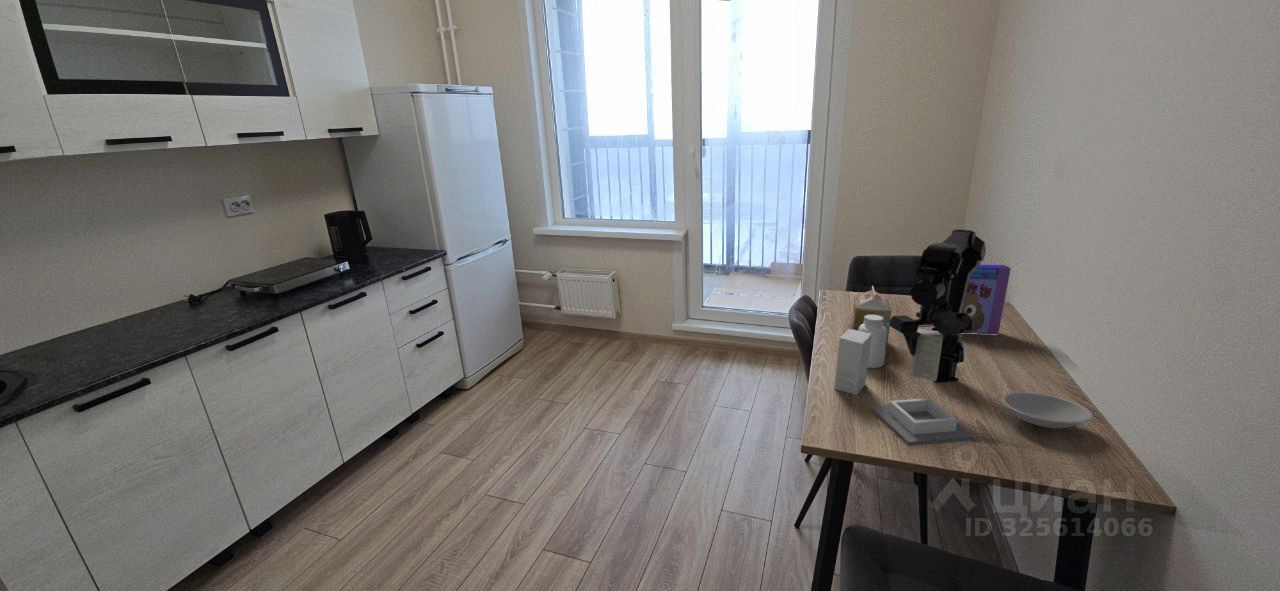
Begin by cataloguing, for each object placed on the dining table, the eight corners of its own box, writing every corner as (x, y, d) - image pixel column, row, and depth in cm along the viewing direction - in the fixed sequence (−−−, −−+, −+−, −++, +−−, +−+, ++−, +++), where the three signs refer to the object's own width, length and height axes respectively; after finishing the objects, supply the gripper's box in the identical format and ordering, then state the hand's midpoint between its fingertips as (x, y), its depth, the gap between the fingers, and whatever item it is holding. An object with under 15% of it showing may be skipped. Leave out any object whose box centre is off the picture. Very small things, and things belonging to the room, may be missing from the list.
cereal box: (942, 333, 182) (953, 266, 175) (937, 329, 186) (947, 263, 179) (997, 335, 179) (1010, 267, 171) (991, 331, 183) (1003, 264, 176)
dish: (1008, 435, 121) (1012, 416, 120) (989, 405, 134) (993, 388, 133) (1100, 447, 116) (1106, 427, 114) (1071, 415, 129) (1076, 396, 127)
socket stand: (930, 406, 135) (932, 392, 134) (974, 440, 119) (977, 425, 118) (871, 410, 133) (872, 396, 132) (908, 445, 118) (910, 430, 117)
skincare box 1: (843, 378, 151) (848, 328, 146) (867, 384, 147) (873, 333, 142) (833, 389, 145) (838, 337, 140) (857, 396, 141) (863, 342, 136)
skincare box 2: (937, 375, 136) (944, 331, 132) (936, 382, 132) (943, 337, 128) (910, 370, 139) (917, 327, 135) (908, 376, 135) (915, 332, 132)
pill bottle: (857, 356, 165) (862, 311, 161) (885, 361, 162) (890, 315, 157) (853, 365, 159) (857, 319, 155) (881, 370, 155) (887, 323, 151)
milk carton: (850, 337, 181) (855, 284, 175) (883, 340, 177) (890, 286, 172) (851, 348, 171) (856, 293, 166) (886, 352, 168) (893, 296, 162)
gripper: (918, 307, 121) (910, 369, 125) (994, 304, 122) (983, 365, 127) (892, 294, 131) (885, 351, 136) (962, 291, 133) (952, 348, 137)
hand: (926, 354), depth 134 cm, fingers closed on skincare box 2, 7 cm apart
